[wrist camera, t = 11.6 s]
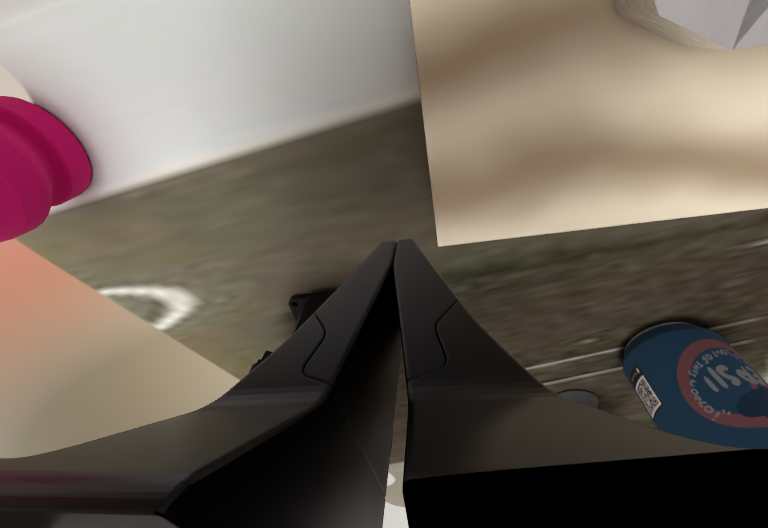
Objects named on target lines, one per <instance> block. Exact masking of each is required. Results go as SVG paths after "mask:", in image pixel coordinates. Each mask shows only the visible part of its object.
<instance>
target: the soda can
mask: <svg viewBox="0 0 768 528" xmlns="http://www.w3.org/2000/svg"><path fill="white" fill-rule="evenodd" d="M623 370H624V373H625V375H626V377H627V378H628V380H629V382H630V383H631V385H632V387H633V388H634V390H635V392H636V393H637V395H638V397H639V398H640V400H641V402H642V403H643V405H644V407H645V408H646V410H647V412H648V413H649V415H650V417H651V418H652V420H653V422H654V423H655V425H656V427H657V428H658V429H659V430H662V431H665V432H668V433H671V434H674V435H678V436H681V437H685V438H688V439H692V440H697V441H701V442H706V443H711V444H715V445H722V446H729V447H737V448H753V449H768V384H767V383H766V382H765V381H764V380H763V379H762V378H761V377H760V376H759V375H758V374H757V373H756V371H755V370H754V369H753V368H752V367H751V366H750V365H749V364H748V363H747V362H746V361H745V360H744V359H743V358H742V357H741V356H740V355H739V354H738V353H737V352H736V351H735V350H734V349H733V348H732V347H731V346H730V345H729V344H728V342H727V341H726V340H725V339H724V338H723V337H722V336H720V335H719V334H717V333H715V332H713V331H711V330H708V329H706V328H703V327H700V326H696V325H693V324H690V323H685V322H669V323H663V324H659V325H655V326H652V327H650V328H647V329H645V330H643V331H641V332H640V333H638V334H637V335H635V336H634V337H633V338H632V339H631V340H630V341H629V342H628V343H627V345H626V347H625V351H624V357H623Z"/></svg>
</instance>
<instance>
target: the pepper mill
mask: <svg viewBox="0 0 768 528" xmlns="http://www.w3.org/2000/svg"><path fill="white" fill-rule="evenodd" d="M90 181H91V166H90V163H89V160H88V157H87V155H86V153H85V151H84V149H83V148H82V146H81V144H80V143H79V141H78V140H77V139H76V137H75V136H74V135H73V134H72V133H71V132H70V131H69V130H68V129H67V127H66V126H65V125H64V124H62V123H61V122H60V121H59V120H58V119H57V118H55V117H54V116H53V115H51V114H49V113H48V112H46V111H45V110H43V109H42V108H40V107H39V106H37V105H34V104H32V103H29V102H27V101H24V100H22V99H19V98H15V97H6V96H0V242H3V241H7V240H11V239H13V238H15V237H18V236H20V235H22V234H24V233H27V232H29V231H31V230H33V229H35V228H37V227H38V226H39V225H40V224H42V223H43V222H44V220H45V219H46V217H47V216H48V214H49V211H50V208H51V206H57V205H60V204H62V203H64V202H66V201H68V200H70V199H72V198H74V197H76V196H78V195H80V194H81V193H83V192H84V191H85V190H86V189H87V187H88V186H89V184H90Z"/></svg>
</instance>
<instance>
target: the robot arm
mask: <svg viewBox="0 0 768 528" xmlns="http://www.w3.org/2000/svg"><path fill="white" fill-rule="evenodd" d="M295 302H297V303H295ZM289 306H290V308H291V310H292V312H293V314H294V316H295V318H296V320H297V324H296V326H295V329H294V332H293V335H292V336H291V337H290V338H288V339H287V340H286V341H285V342H284V343H283V344H282V345H281V346H280V347H278V348H277V349H276V350H275V351H274V352H270V351H266V352H265V354H264V356H263V357H262V359H261V360H260V359H259V360H258V362H257V363H256V364H253V365H252V367H251V370H250V372H249V374H248V375H246V376H245V377H244V378H243V379H242V380H241V381H239V382H238V383H237V384H236V385H235V386H234V387H233V388H231V389H230V390H229V391H228V392H226V393H225V394H224V395H223V396H222V397H220V398H219V399H217V400H215V401H214V402H212V403H210V404H209V405H207V406H205V407H203V408H200V409H198V410H196V411H193V412H190V413H187V414H184V415H180V416H177V417H173V418H170V419H166V420H163V421H159V422H156V423H152V424H149V425H145V426H142V427H138V428H135V429H131V430H128V431H124V432H121V433H117V434H114V435H110V436H107V437H103V438H100V439H97V440H93V441H90V442H86V443H83V444H79V445H75V446H71V447H68V448H64V449H60V450H56V451H52V452H48V453H43V454H39V455H34V456H28V457H21V458H0V528H382V525H383V516H384V507H385V498H384V497H385V496H386V487H387V478H388V468H389V459H390V453H391V446H392V434H393V433H392V431H393V421H394V412H395V402H396V393H397V383H398V374H399V365H400V355H401V346H402V350H403V359H404V368H405V376H406V384H407V395H408V421H407V434H406V448H405V461H404V475H403V497H404V502H405V508H406V513H407V520H408V525H409V528H768V449H753V448H737V447H729V446H722V445H715V444H711V443H706V442H701V441H697V440H692V439H688V438H685V437H681V436H678V435H674V434H671V433H668V432H665V431H662V430H659V429H656V428H653V427H650V426H647V425H644V424H641V423H638V422H635V421H632V420H629V419H626V418H623V417H621V416H618V415H615V414H612V413H609V412H606V411H603V410H600V409H597V408H594V407H591V406H588V405H585V404H582V403H579V402H576V401H573V400H570V399H567V398H565V397H562V396H560V395H558V394H557V393H555V392H553V391H552V390H550V389H549V388H547V387H546V386H545V385H543V384H542V383H541V382H539V381H538V380H537V379H536V378H535V377H534V376H533V375H532V374H531V373H530V372H528V371H527V370H526V369H525V368H524V367H523V366H522V365H521V364H520V363H519V362H518V361H517V360H516V359H515V358H514V357H513V356H512V355H510V354H509V353H508V352H507V351H506V350H505V349H504V348H503V347H502V346H501V345H500V344H499V343H498V342H497V341H496V340H495V339H493V338H492V337H491V336H490V334H489V333H488V332H487V331H486V330H485V329H484V328H483V327H482V326H481V325H480V324H479V323H478V322H477V321H476V320H475V319H474V317H473V316H472V315H471V314H470V313H469V312H468V310H467V309H466V308H465V306H464V305H463V304H462V303H461V302H460V301H459V299H458V298H457V296H456V295H455V294H454V293H453V291H452V290H451V289H450V287H449V286H448V285H447V283H446V282H445V281H444V280H443V278H442V277H441V276H440V274H439V273H438V272H437V271H436V269H435V268H434V267H433V265H432V264H431V263H430V262H429V260H428V259H427V258H426V256H425V255H424V254H423V252H422V251H421V250H420V249H419V247H418V246H417V245H416V243H415V242H414V241H413V240H412V239H407V240H399V241H398V242H396V241H391V242H383V243H381V244H380V245H379V246H378V247H377V248H376V249H375V250H374V251H373V252H372V253H371V255H370V256H369V257H368V258H367V259H366V260H365V261H364V262H363V263H362V264H361V265H360V266H359V267H358V268H357V269H356V270H355V271H354V272H353V273H352V274H351V275H350V276H349V277H348V278H347V279H346V280H345V281H344V282H343V284H342V285H341V286H340V287H339V288H338V289H337V290H336V291H335V292H330V293H320V294H310V295H300V296H293V297H291V298H290V300H289Z"/></svg>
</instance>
